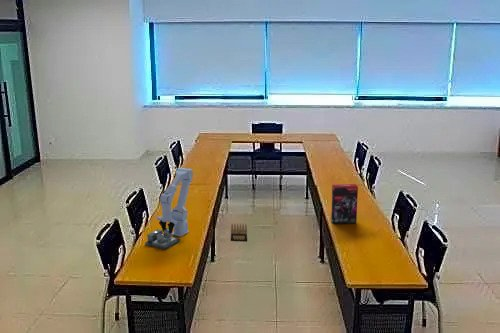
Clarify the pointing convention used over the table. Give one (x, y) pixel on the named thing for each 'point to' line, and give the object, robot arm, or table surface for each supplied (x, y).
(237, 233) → the ammunition clip
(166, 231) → the cylinder
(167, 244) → the dial scale
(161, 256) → the table surface
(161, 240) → the cylinder
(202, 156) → the table surface
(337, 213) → the graphics card box
